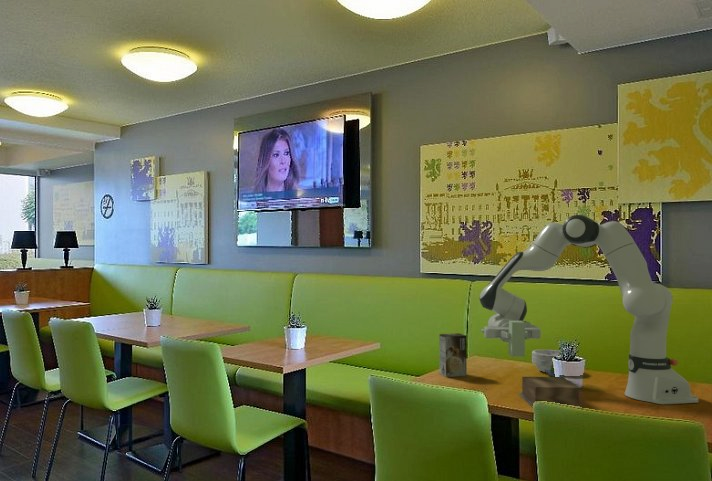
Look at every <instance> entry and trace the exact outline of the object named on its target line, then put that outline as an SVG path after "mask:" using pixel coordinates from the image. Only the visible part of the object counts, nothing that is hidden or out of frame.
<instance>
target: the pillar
mask: <svg viewBox="0 0 712 481" xmlns="http://www.w3.org/2000/svg"><path fill="white" fill-rule="evenodd" d="M523 321H524V320H523ZM523 321H509V333H511V338H509V342H508V355H509V356H510V357H518V358H519V357H523V358H524V357H526V355H525V354H526V339H525V322H523Z"/></svg>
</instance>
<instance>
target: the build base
mask: <svg viewBox="0 0 712 481" xmlns="http://www.w3.org/2000/svg"><path fill="white" fill-rule="evenodd" d="M521 382H522V383H521V384H522V385H521V386H522V389H521V391H522V392H520V393H518V396H520V397H521V399H522V400H524V401H525V402H526V403H527V404H529V406H530V407H532V406H533V403H534V402H535V401H547V402H555V403H560V404H567V405H574V406H580V407H583V406H582V405H581V404H579V402H580V400H579V399H580V387H579V386H578V385H576V384H574V383H573V382H571V381H570V380H568V379H566V378H565V377H564V376H560V377H549V376H522V379H521Z"/></svg>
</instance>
